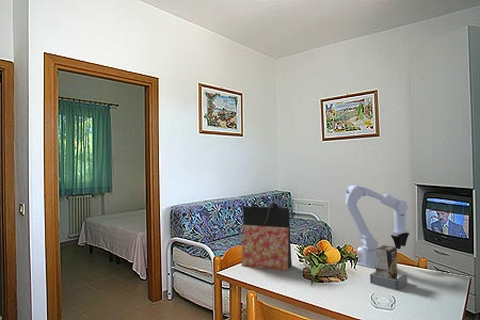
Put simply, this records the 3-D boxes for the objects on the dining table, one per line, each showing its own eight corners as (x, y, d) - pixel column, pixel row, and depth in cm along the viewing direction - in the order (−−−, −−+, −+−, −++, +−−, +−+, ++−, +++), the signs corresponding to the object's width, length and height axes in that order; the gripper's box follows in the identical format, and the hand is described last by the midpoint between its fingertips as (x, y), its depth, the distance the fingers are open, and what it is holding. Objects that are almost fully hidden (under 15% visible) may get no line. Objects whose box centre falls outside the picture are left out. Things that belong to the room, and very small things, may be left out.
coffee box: (390, 287, 137) (389, 251, 137) (375, 283, 142) (374, 248, 142) (398, 281, 143) (397, 247, 143) (384, 278, 148) (383, 244, 148)
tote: (370, 283, 142) (370, 274, 142) (380, 276, 151) (380, 267, 151) (397, 290, 134) (397, 281, 134) (407, 282, 142) (407, 274, 142)
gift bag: (239, 267, 167) (238, 202, 167) (248, 259, 180) (247, 199, 181) (293, 273, 156) (292, 204, 157) (298, 264, 170) (297, 201, 170)
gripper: (403, 225, 159) (403, 251, 159) (412, 221, 169) (413, 245, 169) (389, 223, 164) (389, 248, 164) (398, 219, 174) (399, 243, 174)
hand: (400, 247), depth 167 cm, fingers open, 7 cm apart
